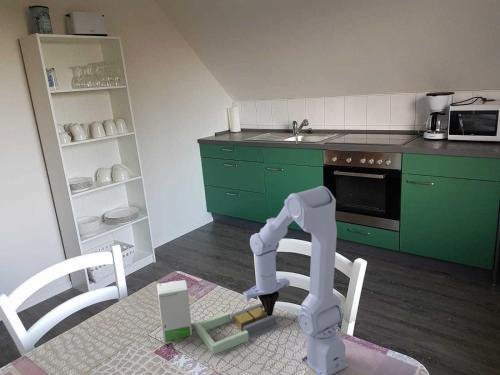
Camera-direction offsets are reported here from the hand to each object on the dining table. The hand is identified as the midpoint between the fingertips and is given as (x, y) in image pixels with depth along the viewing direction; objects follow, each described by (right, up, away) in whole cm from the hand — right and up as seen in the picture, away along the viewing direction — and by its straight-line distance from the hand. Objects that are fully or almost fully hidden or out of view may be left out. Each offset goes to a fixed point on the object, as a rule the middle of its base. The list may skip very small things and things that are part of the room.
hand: (268, 314), depth 118 cm
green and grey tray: (-9, -4, -4) cm, 10 cm away
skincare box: (-26, -5, -3) cm, 27 cm away
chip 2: (-3, -2, -1) cm, 4 cm away
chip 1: (-7, -2, -4) cm, 8 cm away
